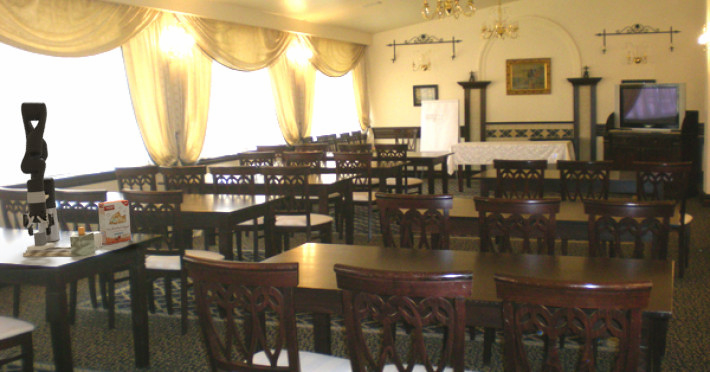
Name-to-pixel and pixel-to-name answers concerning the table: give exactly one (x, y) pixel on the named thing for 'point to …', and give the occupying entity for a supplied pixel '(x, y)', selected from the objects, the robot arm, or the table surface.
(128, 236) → the cracker box
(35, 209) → the robot arm
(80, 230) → the button
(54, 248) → the rail track
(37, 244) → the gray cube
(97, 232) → the white cube
